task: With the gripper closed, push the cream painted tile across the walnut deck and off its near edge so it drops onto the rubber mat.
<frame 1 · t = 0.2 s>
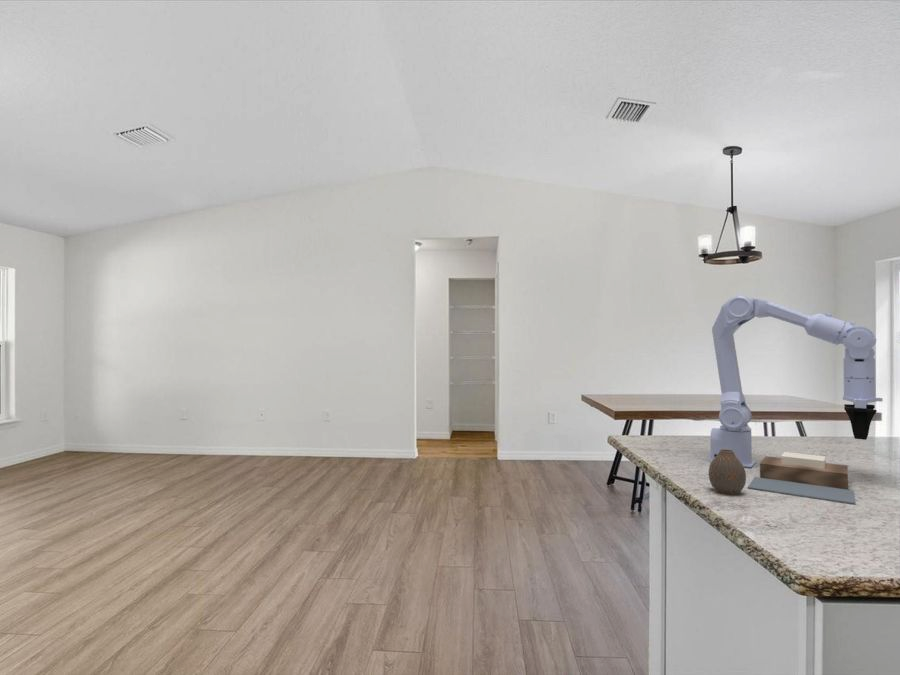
hand: (860, 436, 115), 10 cm above the countertop, fingers open, 7 cm apart
tile: (803, 464, 114), point 3 cm above the countertop, touching deck
deck: (803, 479, 114), on the countertop
vase: (727, 492, 104), on the countertop
mat: (800, 490, 105), on the countertop
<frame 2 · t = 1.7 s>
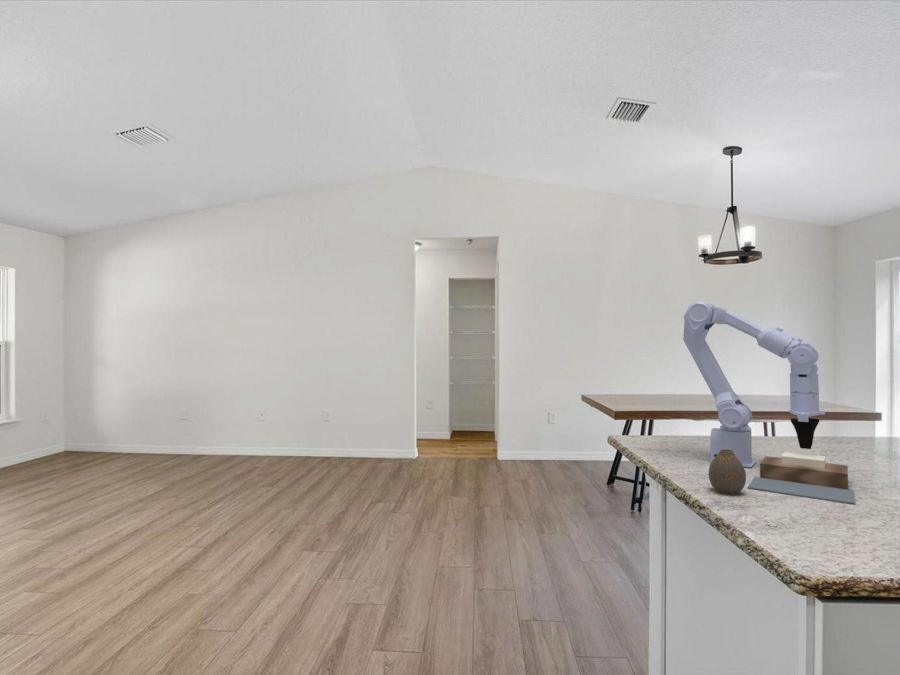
hand: (805, 448, 121), 6 cm above the countertop, fingers closed
nothing on the countertop moved.
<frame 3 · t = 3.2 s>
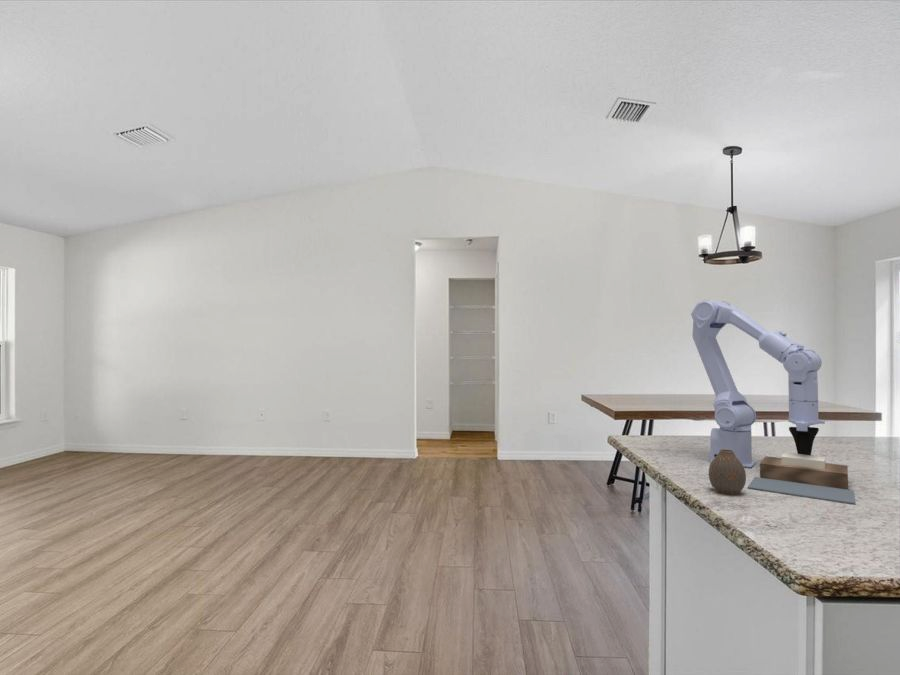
hand: (804, 458, 117), 4 cm above the countertop, fingers closed
tile: (803, 464, 114), point 3 cm above the countertop, touching deck, gripper
everything else where it was.
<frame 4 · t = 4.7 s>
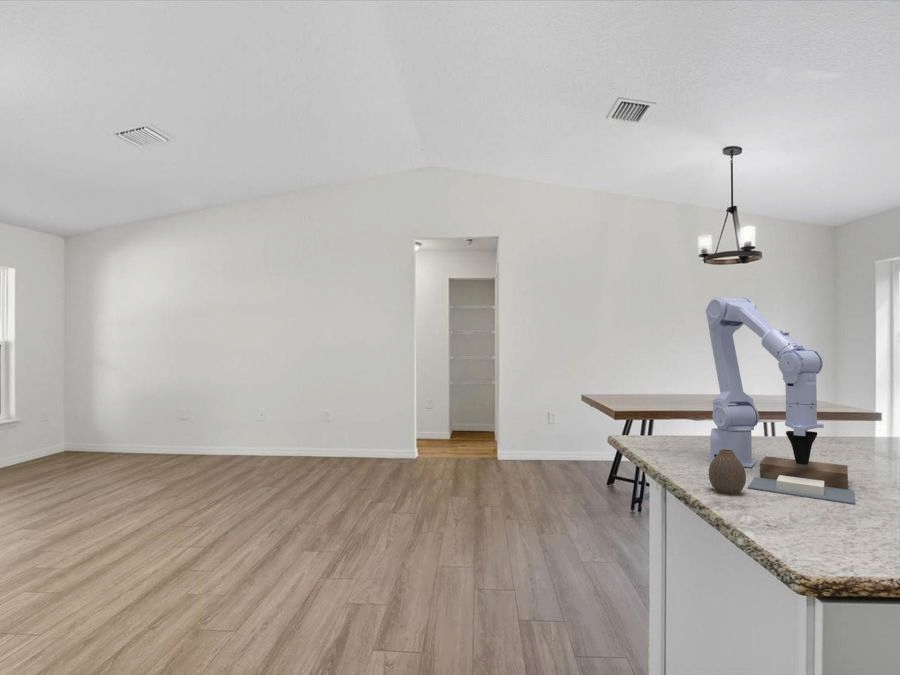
hand: (802, 463, 111), 4 cm above the countertop, fingers closed
tile: (800, 480, 105), point 2 cm above the countertop, tilted 180°, touching mat
everything else where it was.
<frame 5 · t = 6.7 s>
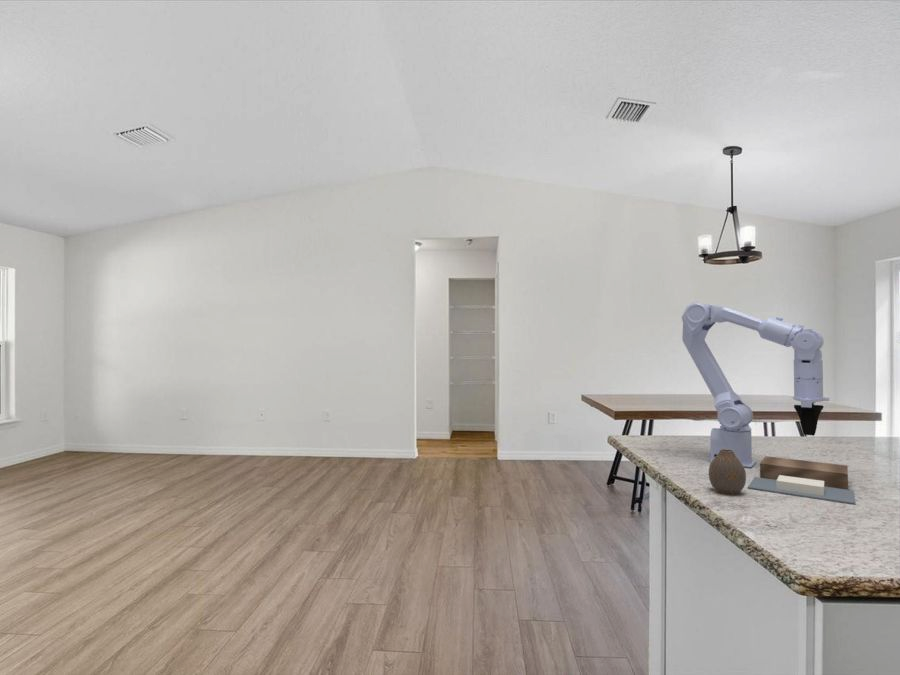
hand: (809, 434, 119), 9 cm above the countertop, fingers closed
nothing on the countertop moved.
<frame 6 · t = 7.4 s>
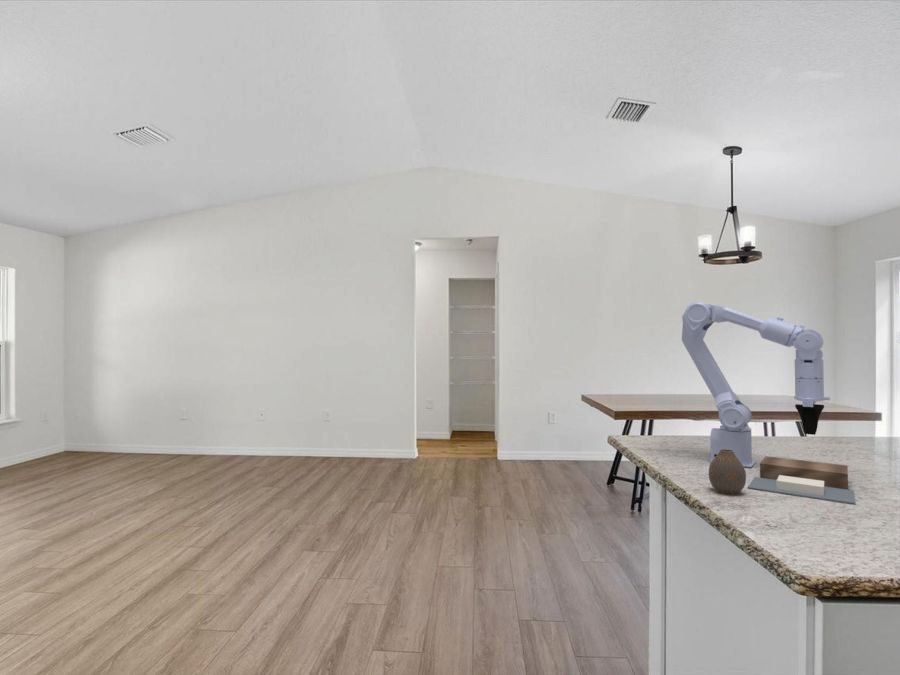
hand: (810, 434, 121), 9 cm above the countertop, fingers closed
nothing on the countertop moved.
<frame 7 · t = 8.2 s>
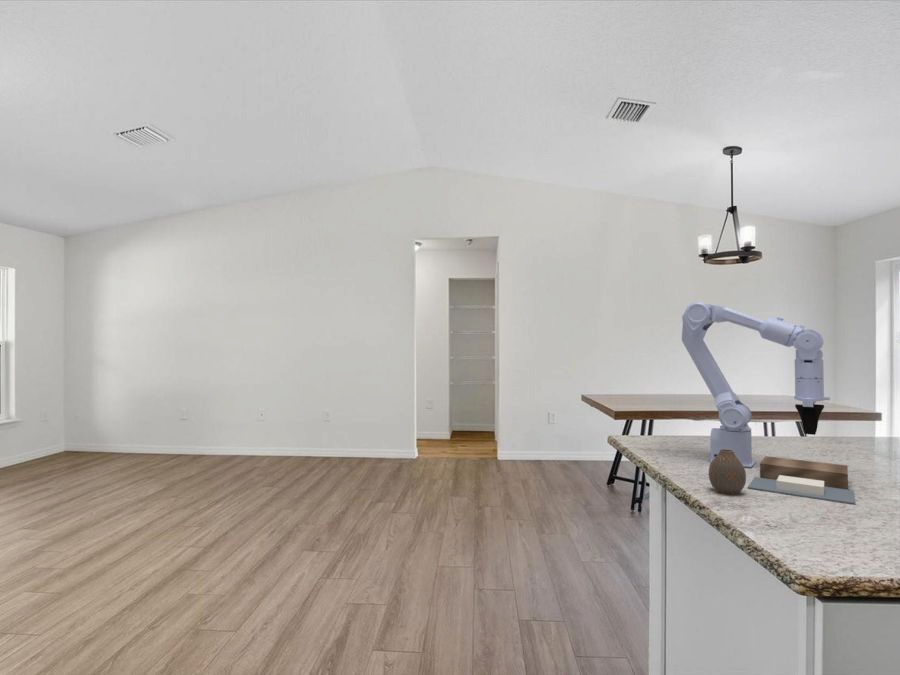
hand: (810, 434, 121), 9 cm above the countertop, fingers closed
nothing on the countertop moved.
at the end: tile point 2.1 cm above the countertop; tile inside the target area (0.6 cm from its centre), point 2.1 cm above the countertop; tile touching mat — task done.
